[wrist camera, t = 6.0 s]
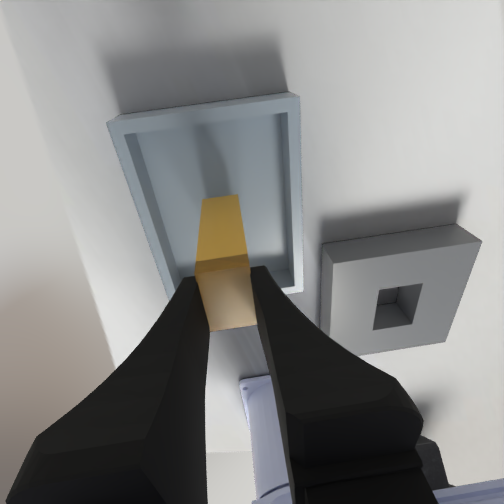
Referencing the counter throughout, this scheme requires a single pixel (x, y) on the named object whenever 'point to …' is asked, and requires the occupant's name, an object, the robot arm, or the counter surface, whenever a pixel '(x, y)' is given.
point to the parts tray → (217, 179)
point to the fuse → (224, 265)
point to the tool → (432, 463)
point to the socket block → (395, 275)
